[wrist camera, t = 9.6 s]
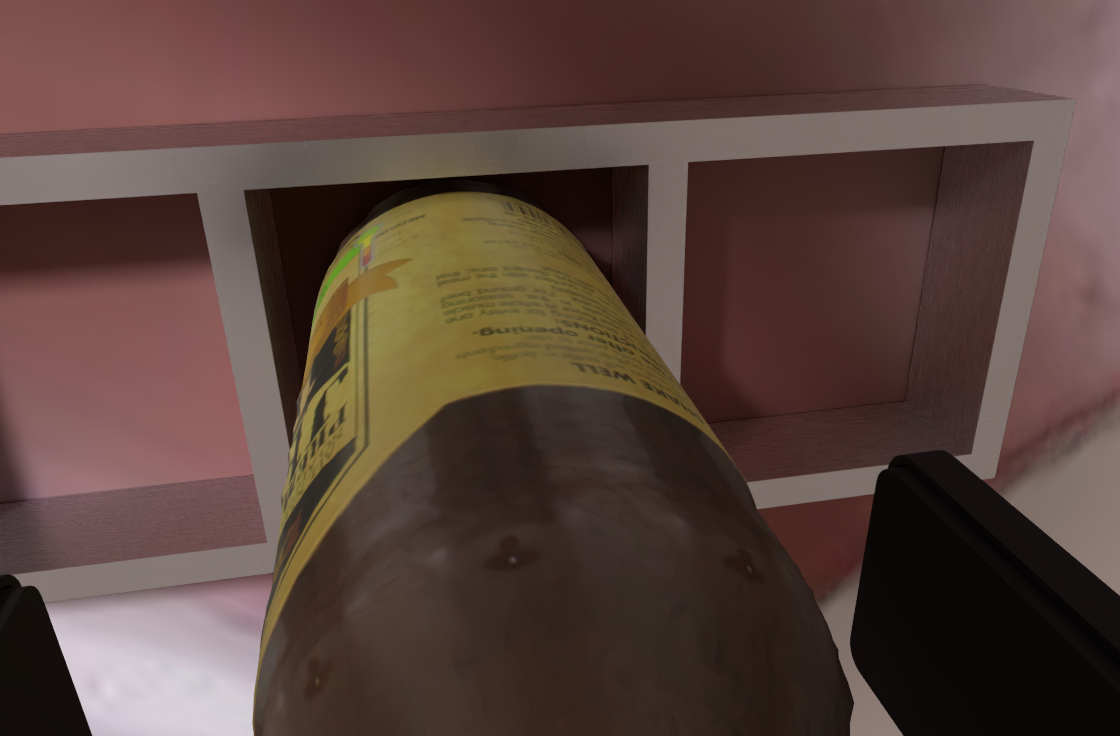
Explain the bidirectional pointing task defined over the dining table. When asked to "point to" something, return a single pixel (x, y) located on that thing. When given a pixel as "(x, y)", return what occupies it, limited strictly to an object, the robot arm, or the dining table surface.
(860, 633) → the robot arm
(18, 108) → the dining table surface
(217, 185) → the rack with square compartments
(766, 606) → the sauce bottle
